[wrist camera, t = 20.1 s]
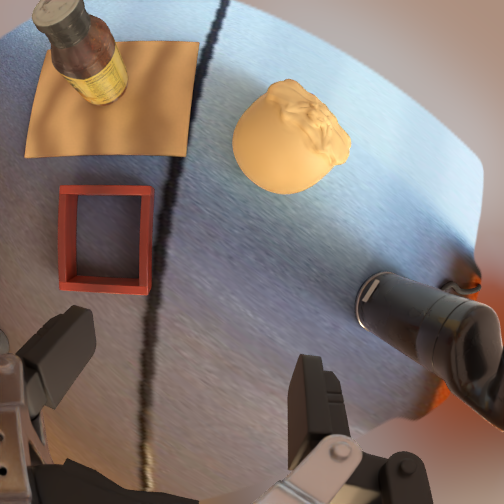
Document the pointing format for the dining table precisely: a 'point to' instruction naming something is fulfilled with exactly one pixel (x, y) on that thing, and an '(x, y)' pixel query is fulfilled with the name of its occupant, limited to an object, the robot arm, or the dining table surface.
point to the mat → (119, 107)
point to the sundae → (3, 343)
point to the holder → (68, 241)
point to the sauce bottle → (82, 50)
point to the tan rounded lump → (288, 139)
